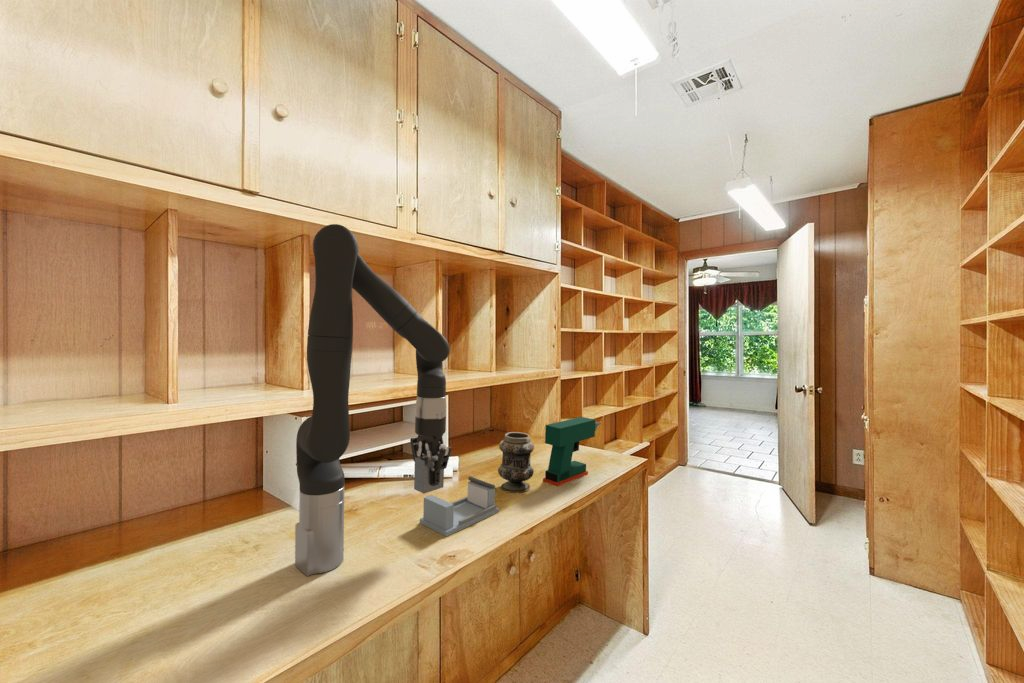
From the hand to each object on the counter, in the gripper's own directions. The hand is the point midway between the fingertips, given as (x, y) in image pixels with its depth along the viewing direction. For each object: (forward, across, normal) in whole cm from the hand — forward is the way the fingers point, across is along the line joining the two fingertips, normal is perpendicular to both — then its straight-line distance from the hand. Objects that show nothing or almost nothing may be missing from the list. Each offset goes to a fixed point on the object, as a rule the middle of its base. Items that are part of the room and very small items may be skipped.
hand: (428, 482), depth 106 cm
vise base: (+15, -4, +15) cm, 22 cm away
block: (+2, 0, 0) cm, 2 cm away
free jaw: (+14, -5, +23) cm, 27 cm away
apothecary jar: (+15, -8, +43) cm, 46 cm away
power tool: (+15, -2, +70) cm, 71 cm away
